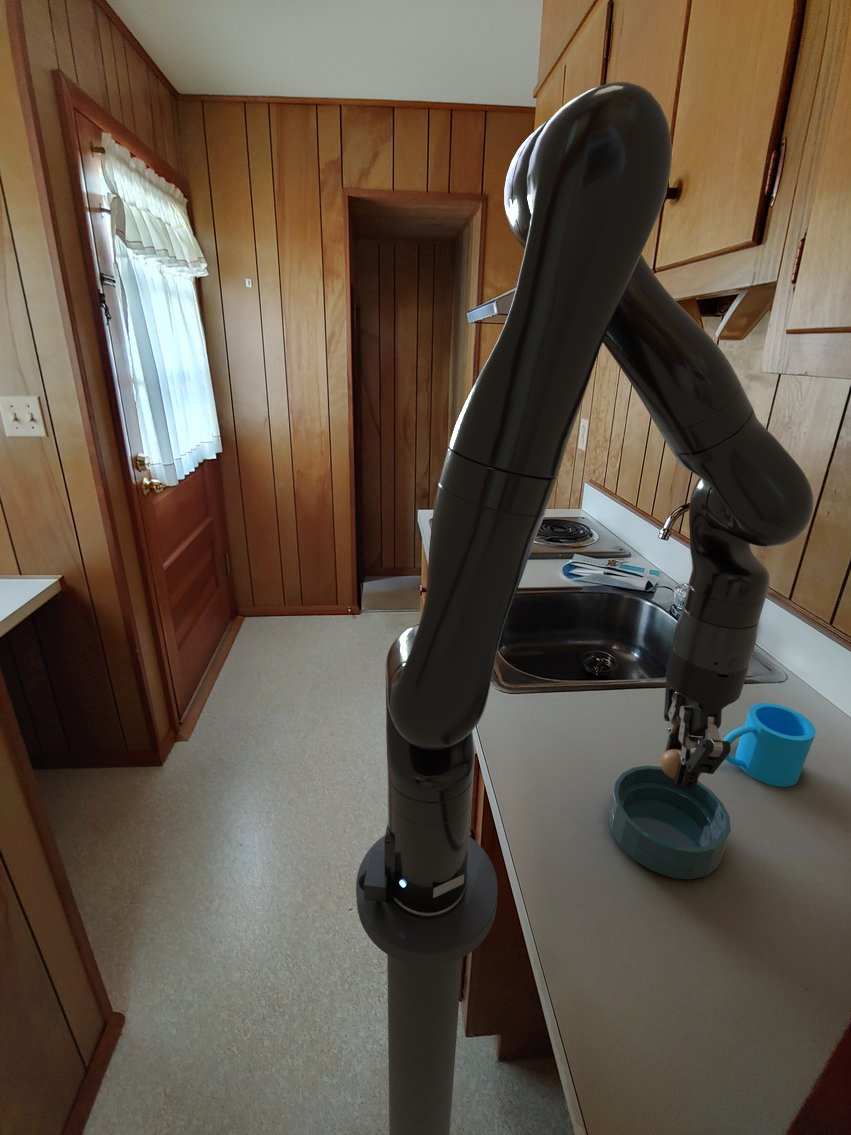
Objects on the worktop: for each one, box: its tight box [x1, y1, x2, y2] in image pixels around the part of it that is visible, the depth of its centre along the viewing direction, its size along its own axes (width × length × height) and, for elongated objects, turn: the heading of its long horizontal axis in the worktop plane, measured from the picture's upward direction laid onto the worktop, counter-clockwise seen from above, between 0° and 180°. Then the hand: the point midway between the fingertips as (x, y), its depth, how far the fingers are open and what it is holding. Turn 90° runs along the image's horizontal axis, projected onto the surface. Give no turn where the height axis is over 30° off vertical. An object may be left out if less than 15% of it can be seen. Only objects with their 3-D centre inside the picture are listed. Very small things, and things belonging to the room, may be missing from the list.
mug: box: [722, 702, 817, 788], centre depth 79 cm, size 12×8×8 cm
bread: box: [660, 749, 702, 779], centre depth 65 cm, size 5×3×3 cm
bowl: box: [607, 765, 732, 880], centre depth 68 cm, size 13×13×5 cm
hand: (678, 773), depth 65 cm, fingers closed on bread, 3 cm apart
